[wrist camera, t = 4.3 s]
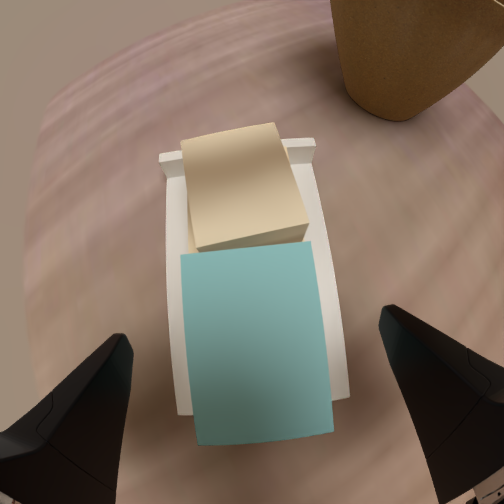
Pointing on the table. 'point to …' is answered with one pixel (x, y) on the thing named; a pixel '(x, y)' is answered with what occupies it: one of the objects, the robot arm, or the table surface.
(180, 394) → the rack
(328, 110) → the table surface
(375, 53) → the plant pot
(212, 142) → the offcut upper
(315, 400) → the teal rectangular block
